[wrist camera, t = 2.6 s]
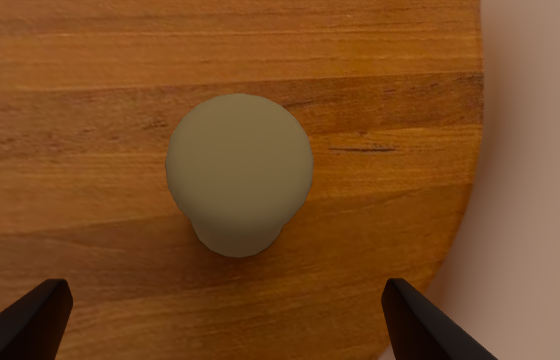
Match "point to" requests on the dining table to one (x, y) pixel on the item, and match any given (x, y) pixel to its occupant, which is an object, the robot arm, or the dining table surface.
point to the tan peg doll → (239, 171)
